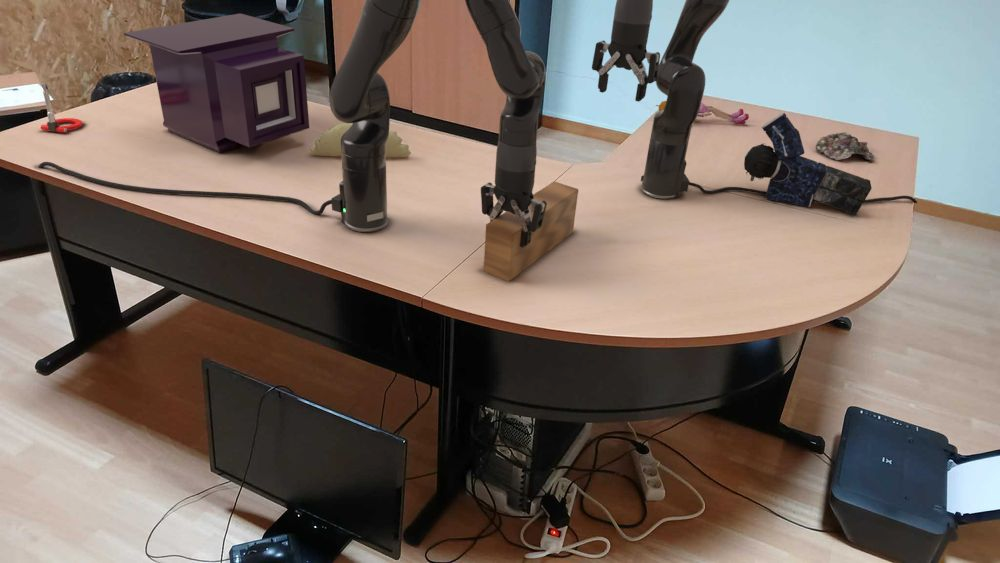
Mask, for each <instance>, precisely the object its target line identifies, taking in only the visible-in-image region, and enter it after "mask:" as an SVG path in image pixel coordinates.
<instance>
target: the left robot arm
mask: <svg viewBox="0 0 1000 563" xmlns="http://www.w3.org/2000/svg"><path fill="white" fill-rule="evenodd" d="M421 1H422V0H364V3H363V6H362V10H361V13H360V17H359V19H358V22H357V25H356V26H355V30H354V33H353V35H352V38H351V41H350V44H349V47H348V49H347V51H346V53H345V56H344V58H343V59H342V61H341V64H340V66H339V68H338V70H337V71H336V73H335V76H334V78H333V80H332V83H331V84H330V89H329V93H328V94H329V96H328V99H329V101H328V102H329V107H330V110H331V113H332V115H333V116H334V117H335V118H336V120H337V121H339V122H340V123H341V122H343V123H353V124H352V126H351V127H350V128H349V129H348V130H347V131H346V132H345V133H344V134H343V136H342V138H341V156H340V157H341V170H342V171H341V172H342V173H341V174H342V181H340V182H339V184H338V186H339V187H338V190H339V193H338V194H337V195H335V196H333V197H331V199H329V200H326V201H325V202H323V203H321V205H320V208H319V210H314V209H313V208H311V206H309V205H308V204H307V203H306V202H304V201H303V200H301V199H298V198H294V197H289V196H281V195H271V194H270V195H268V194H259V193H244V192H229V191H228V192H226V191H207V190H206V191H203V190H183V189H167V188H154V187H145V186H136V185H130V184H122V183H118V182H113V181H108V180H104V179H99V178H96V177H93V176H89V175H85V174H82V173H79V172H76V171H74V170H71V169H67V168H65V167H62V166H61V165H58V164H56V163H53V162H51V161H42V162H41V163H39V165H38V166H37V168H38V169H43V168H45V167H51V168H53V169H56V170H57V171H60V172H61V173H65V174H68V175H70V176H74V177H76V178H80V179H83V180H84V181H85V180H86V181H89V182H92V183H96V184H100V185H104V186H108V187H113V188H119V189H125V190H131V191H139V192H147V193H157V194H170V195H189V196H190V195H191V196H211V197H212V196H213V197H234V198H249V199H260V200H261V199H262V200H273V201H274V200H275V201H283V202H290V203H296V204H298V205H300V206H302V207H303V208H304V209H305V210H306V211H307V212H308V213H311V214H313V215H315V216H319V215H322V214H323V213H324V212H325V209H326V207H328V206H330V205H331V211H334V212H336V213H340V216H341V217H340V222H341V223H342V224H344V225H345V227H346V228H348V229H349V230H351V231H354V232H357V233H358V232H359V233H372V232H377V231H380V230H382V229H384V228H386V227H387V226H388V223H389V218H388V190H387V189H388V188H387V186H388V185H387V184H388V183H387V157H386V142H387V140H388V136H389V130H390V120H391V119H390V118H391V97H390V91H389V87H388V83H387V82H386V79H385V78H384V77H383V76H382V75H381V74H380V73H379V72H378V71H379V70H380V69H381V67H382V66H383V65H384V64H385V63H386V62H387V61H388V59H390V57H392V55H393V54H394V53H395V52H396V51H397V50H398V49H399V47H400V46H401V45H402V44H403V42H404V41H405V40H406V39H407V37H408V35H409V33H410V31H411V29H412V27H413V24H414V21H415V19H416V17H417V15H418V13H419V10H420V6H421ZM464 2H465V5H466V8H467V10H468V13H469V15H470V17H471V19H472V22H473V23H474V26H475V28H476V30H477V32H478V34H479V35H480V38H481V39H482V41H483V44H484V45H485V49H486V52H487V57H488V60H489V64H490V67H491V70H492V73H493V76H494V79H495V81H496V84H497V85H498V88H500V90H501V91H502V92H503V94H504V95H505V96H506V97H505V98H506V99H505V104H504V107H503V109H502V111H501V113H500V118H499V128H498V141H497V147H496V153H495V154H496V155H495V171H494V185H493V183H492V182H487V183H485V184H483V185H482V186H481V187H480V199H481V201H480V202H481V212H482V214H483V215H486V216H488V217H489V220H490V221H489V222H491V221H492V220H494V219H496V218H497V217H499V216H500V215H502V214H503V213H504V212H507V211H508V212H511V213H512V214H515V215H516V217H517V220H518V221H519V222H520V224H521V227H522V231H521V240H520V247H522V248H524V247H526V246H527V245H528V244H529V243H530V242H531V234H532V232H535V231H536V230H537V229H539V228H540V227H542V223H543V219H544V214H545V210H546V206H547V203H546V201H541V202H540V201H538V200H536V199H534V196H533V194H534V193H533V190H534V187H535V176H536V166H537V156H538V155H537V154H538V152H537V148H538V147H537V141H538V139H537V138H538V129H539V128H538V127H539V113H540V109H541V105H542V101H543V96H544V91H545V87H546V86H545V85H546V77H547V76H546V75H547V73H546V72H547V70H546V66H545V63H544V60H543V59H542V58H541V57H540V55H539V54H537V53H536V52H533V51H529V50H525V47H524V45H523V42H522V39H521V35H522V26H521V23H520V20H519V18H518V16H517V14H516V11H515V9H514V7H513V5H512V4H511V1H510V0H464ZM39 195H40V200H41V205H42V209H43V210H42V211H43V214H44V218H45V222H46V225H47V226H46V227H47V229H48V232H49V236H50V240H51V243H52V245H53V249H54V252H55V255H56V259H57V262H58V266H59V268H60V272H61V275H62V277H63V280H64V281H63V282H64V284H65V287H66V290H67V294H68V298H69V302H70V304H71V305H76V301H75V297H74V294H73V292H72V288H71V284H70V281H69V277H68V275H67V271H66V268H65V264H64V261H63V259H62V255H61V252H60V249H59V246H58V243H57V238H56V236H55V233H54V229H53V225H52V222H51V218H50V213H49V209H48V205H47V204H48V203H47V199H46V196H45V195H43V194H42V193H41V194H39ZM494 196H495V198H496V201H497V202H496V203H495V204H494ZM530 205H532V211H533V212H534V213H533V218H531V215H532V213H531V210H530V207H529V206H530ZM523 211H524V214H523V215H522V212H523Z"/></svg>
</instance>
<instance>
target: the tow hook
mask: <svg viewBox="0 0 1000 563" xmlns="http://www.w3.org/2000/svg"><path fill="white" fill-rule="evenodd" d="M41 85H42V90H43V91H42V94H43V99H44V102H45V107H46V111H47V113H46V114H47V119H48V121H47V122H46V124H41V125H40V129H41V130H42V131H49V132H52V133H64V134H65V133H68V131H70V130H75V129H78V128H81V127H82V126H83V121H82V120H81V119H80V118H79V119H78V118H75V117H74V118H73V117H65V118H56V116H55V112H54V111H53V107H52V101H51V98H50V93H49V91H48V88H47V84H46V82H41ZM64 123H71V124H70V125H61V126H60V124H64Z"/></svg>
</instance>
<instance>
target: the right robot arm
mask: <svg viewBox="0 0 1000 563" xmlns="http://www.w3.org/2000/svg"><path fill="white" fill-rule="evenodd" d="M729 2H730V0H685V2H684V4H683V7H682V9H681V12H680V14H679V18H678V19H677V23H676V26H675V29H674V31H673V34H672V36H671V38H670V40H669V43H668V45H667V46H666V48H665V51H664V53H663V55H662V57H661V53H660V52H659V51H656V52H651V51H650V52H649V51H648V50H647V44H648V40H649V34H650V29H651V21H652V19H653V9H654V8H653V6H654V0H616V2H615V6H614V14H613V21H612V28H611V34H610V35H611V36H610V43H607V42H606V40H601V41H598V42H596V43H595V46H594V53H593V58H592V63H591V69H592V71H595V72H597V73H598V82H597V89H598V90H599V93H605V92H607V89H608V82H609V77H610V74H609V72H610V71H611V70H612V69H613V68H614V67H616V68H617V69H618V68H619V69H624V70H627V71H632V73H633V74H634V76H635V77H636V79H637V81H638V83H637V86H636V91H635V92H636V93H635V99H634V100H635V102H638V103H639V102H641V101H642V100H643V99H645V97H646V94H647V88H648V84H653V83H655V85H656V87H657V89H658V91H660V92H661V93H662V94H663V95H665V96H666V100H665V101H666V105H665V109H664V110H661V111H659V110H658V111H657V112H656V113H655V114H654V116H653V122H652V128H651V133H650V138H649V144H648V148H647V156H646V160H645V161H646V162H645V165H644V172H643V175H641V177H640V182H642V183H641V186H640V190H641V192H642V193H643V194H645V195H646V196H649V197H651V198H655V199H660V200H661V199H662V200H669V199H670V200H671V199H674V198H678V199H679V198H680V196H681V192H682V193H683V192H684V193H687V192H688V191H689V188H690V187H695V188H697V189H698V190H700V191H701V193H703V194H707V195H711V194H712V195H714V194H717V193H718V194H719V193H722V192H725V191H726V192H727V191H741V192H742V191H743V192H749V193H753V194H759V195H767V190H766V191H765V190H760V189H754V188H748V187H739V186H725V187H721V188H718V189H714V190H709V189H704V187H703V186H701V185H700V184H697V183H696V182H691V180H690V179H689V178H688V176H687V175H686V172H685V171H686V167H687V160H686V156H687V151H688V146H689V141H690V136H691V132H692V128H693V124H694V123H695V122H696V121H697V117H699V116H698V112H699V109H700V105H701V103H702V100H703V97H704V92H705V88H706V73H705V71H704V69H703V68H702V67H701V66H700V65H698V64H696V63H695V62H694V58H695V54H696V52H697V51H698V50H697V49H698V47H699V44H700V42H701V41H702V39H703V36H705V34H706V33H707V31H708V30H709V29H710V28H711V27H712V26H713V25H714V24H715V22H716V21H717V20H719V18H720V17H721V16H722V14H723V13H724V11H725V10H726V8H727V6H728V5H729ZM607 51H608V54H609V56H610V58H609V59H608V60H607V61H606V62H605V63H604V64H603V62H604V56H605V53H607ZM645 59H646V62H647V64H648V72H647V71H646V66H645V64H644V60H645ZM895 200H909V201H911V202H912V203H913V204H918V201H917V199H915V197H913V196H910V195H897V196H889V197H888V196H887V197H877V198H869V199H865V201H864V202H863V204H868V203H875V202H886V201H887V202H888V201H895ZM812 203H821V202H819V201H816V200H814V199H812ZM821 204H822V203H821Z"/></svg>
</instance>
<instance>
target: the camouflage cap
mask: <svg viewBox="0 0 1000 563" xmlns="http://www.w3.org/2000/svg"><path fill="white" fill-rule="evenodd" d="M815 150H816V151H817V152H818V153H824V155H825V156H827V157H828V158H830V159H832V160H835V161H839V160H840V161H841V160H844V159H848V158H851V157H852V155H853V154H854V155H857V154H859V155H860V156H861V158H863V159H865V160H866V161H871V162H874V160H875V159H874V158H875V155H874V154H873V153H872V152H871V151H870V149H869V147H868V142H867V141H859V139H858V137H855V136H853V135H852V134H851V133H849V132H848V131H846V132H844V131H843V132H836V133H830V134H827V135H826V136H822V137H820V138H819V140H818V141H817V142H816V144H815ZM873 157H874V158H873Z"/></svg>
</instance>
